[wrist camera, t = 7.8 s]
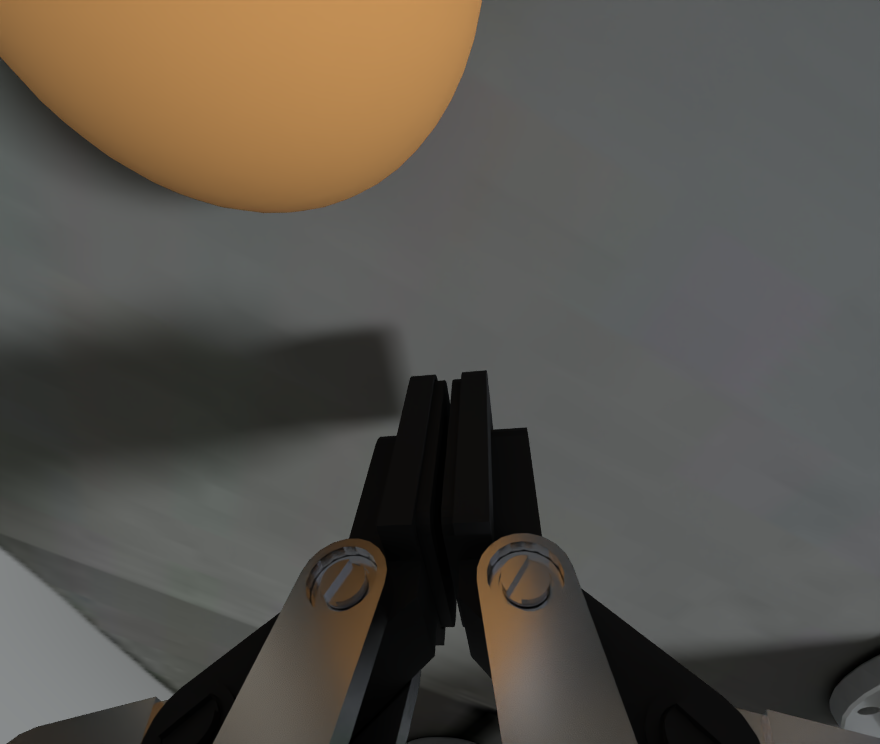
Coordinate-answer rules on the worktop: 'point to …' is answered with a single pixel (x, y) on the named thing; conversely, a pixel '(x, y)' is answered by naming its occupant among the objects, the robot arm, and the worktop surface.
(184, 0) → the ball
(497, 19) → the worktop surface
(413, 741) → the soda can
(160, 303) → the worktop surface
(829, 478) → the worktop surface
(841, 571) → the worktop surface
